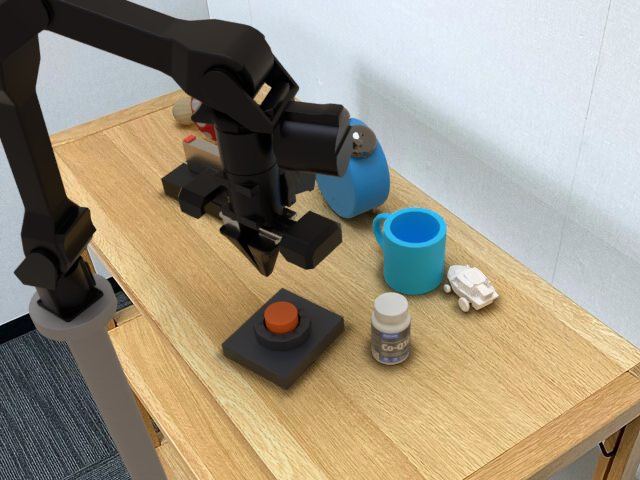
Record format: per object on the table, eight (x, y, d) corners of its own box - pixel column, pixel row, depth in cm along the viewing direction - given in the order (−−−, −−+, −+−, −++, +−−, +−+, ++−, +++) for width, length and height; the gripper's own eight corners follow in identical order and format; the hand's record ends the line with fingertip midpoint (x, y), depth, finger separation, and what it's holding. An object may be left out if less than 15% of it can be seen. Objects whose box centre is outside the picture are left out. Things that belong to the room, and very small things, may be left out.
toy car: (471, 320, 97) (474, 296, 94) (435, 284, 101) (436, 261, 98) (501, 305, 98) (504, 282, 95) (463, 270, 103) (466, 247, 100)
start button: (284, 339, 91) (283, 329, 90) (259, 326, 93) (257, 316, 91) (304, 319, 93) (303, 309, 92) (279, 306, 95) (278, 296, 93)
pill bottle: (382, 371, 92) (381, 323, 85) (365, 345, 95) (363, 297, 88) (416, 357, 93) (418, 309, 87) (398, 332, 96) (399, 284, 89)
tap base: (270, 183, 118) (268, 166, 116) (218, 225, 112) (214, 208, 109) (212, 159, 123) (209, 142, 121) (159, 198, 116) (154, 181, 114)
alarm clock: (391, 221, 111) (392, 131, 99) (356, 237, 108) (352, 147, 97) (344, 178, 118) (339, 90, 107) (310, 192, 116) (302, 103, 105)
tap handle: (236, 179, 114) (230, 149, 110) (227, 186, 113) (221, 156, 109) (197, 163, 117) (190, 133, 113) (188, 169, 116) (181, 139, 112)
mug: (456, 274, 102) (460, 227, 96) (412, 303, 99) (414, 256, 93) (395, 233, 109) (396, 186, 103) (352, 259, 105) (350, 212, 99)
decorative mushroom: (149, 73, 125) (209, 63, 116) (201, 83, 134) (261, 74, 124) (151, 142, 127) (210, 137, 118) (202, 148, 135) (261, 144, 126)
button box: (286, 390, 90) (283, 368, 87) (224, 355, 94) (218, 334, 91) (344, 329, 97) (343, 307, 94) (283, 299, 101) (280, 277, 98)
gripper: (370, 149, 76) (372, 264, 88) (232, 97, 84) (250, 210, 96) (303, 206, 70) (315, 322, 82) (161, 145, 78) (190, 259, 90)
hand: (267, 273), depth 88 cm, fingers closed
